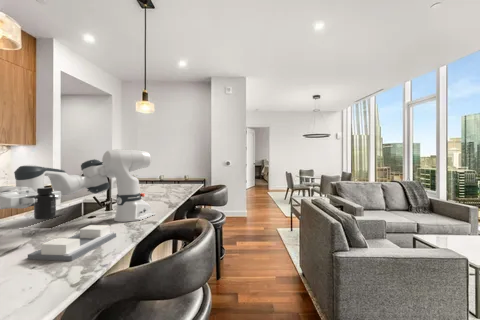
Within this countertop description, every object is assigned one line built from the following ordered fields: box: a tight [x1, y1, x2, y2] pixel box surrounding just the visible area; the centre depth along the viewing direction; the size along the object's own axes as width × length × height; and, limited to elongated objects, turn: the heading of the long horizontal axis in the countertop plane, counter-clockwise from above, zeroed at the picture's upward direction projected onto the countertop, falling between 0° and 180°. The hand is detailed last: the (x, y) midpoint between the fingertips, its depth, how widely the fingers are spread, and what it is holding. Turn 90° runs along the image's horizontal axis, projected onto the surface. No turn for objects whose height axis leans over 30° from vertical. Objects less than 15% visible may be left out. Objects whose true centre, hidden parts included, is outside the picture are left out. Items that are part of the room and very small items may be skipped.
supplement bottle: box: [33, 186, 57, 221], centre depth 95 cm, size 7×7×12 cm
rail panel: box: [27, 224, 117, 262], centre depth 91 cm, size 24×16×5 cm, turn 175°
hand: (46, 199), depth 94 cm, fingers closed on supplement bottle, 7 cm apart
